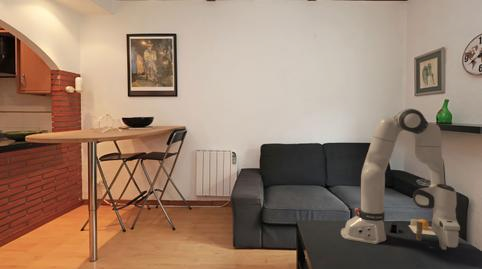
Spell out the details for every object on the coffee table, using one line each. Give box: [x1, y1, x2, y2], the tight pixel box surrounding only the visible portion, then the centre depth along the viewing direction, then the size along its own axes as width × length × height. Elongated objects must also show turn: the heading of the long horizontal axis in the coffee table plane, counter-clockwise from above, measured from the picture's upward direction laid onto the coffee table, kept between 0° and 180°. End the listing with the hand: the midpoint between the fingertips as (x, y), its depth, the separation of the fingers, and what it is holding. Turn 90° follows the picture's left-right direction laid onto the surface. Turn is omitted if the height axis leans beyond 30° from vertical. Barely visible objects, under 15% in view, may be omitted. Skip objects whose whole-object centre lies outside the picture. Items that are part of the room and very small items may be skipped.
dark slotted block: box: [387, 222, 399, 234], centre depth 165 cm, size 12×7×5 cm, turn 155°
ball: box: [418, 218, 430, 229], centre depth 166 cm, size 6×6×6 cm
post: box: [415, 222, 423, 241], centre depth 152 cm, size 3×3×9 cm
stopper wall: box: [410, 218, 420, 226], centre depth 172 cm, size 7×2×3 cm, turn 76°
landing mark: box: [407, 224, 437, 236], centre depth 165 cm, size 12×12×1 cm
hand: (442, 248), depth 139 cm, fingers closed
